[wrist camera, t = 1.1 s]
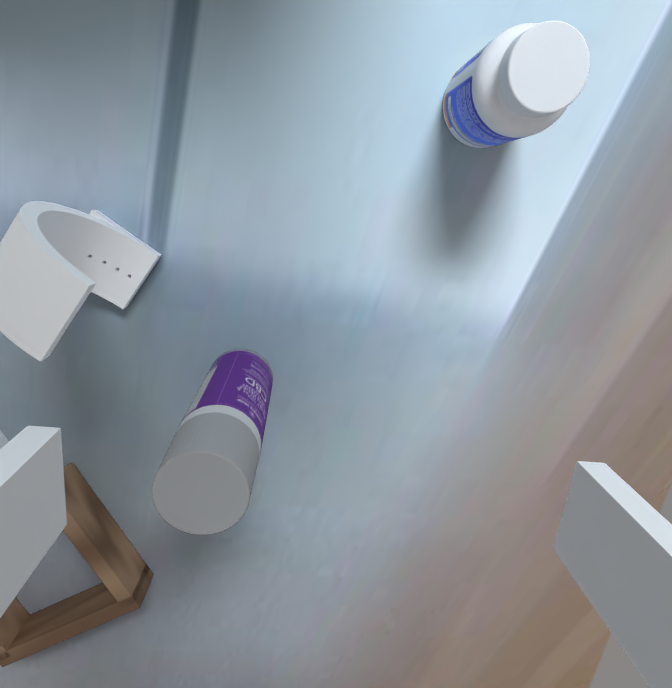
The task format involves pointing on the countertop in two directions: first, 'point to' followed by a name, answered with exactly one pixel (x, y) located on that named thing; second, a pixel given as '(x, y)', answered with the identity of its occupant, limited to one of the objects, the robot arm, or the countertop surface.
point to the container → (216, 447)
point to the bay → (92, 604)
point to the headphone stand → (63, 271)
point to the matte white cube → (3, 440)
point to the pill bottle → (517, 84)
